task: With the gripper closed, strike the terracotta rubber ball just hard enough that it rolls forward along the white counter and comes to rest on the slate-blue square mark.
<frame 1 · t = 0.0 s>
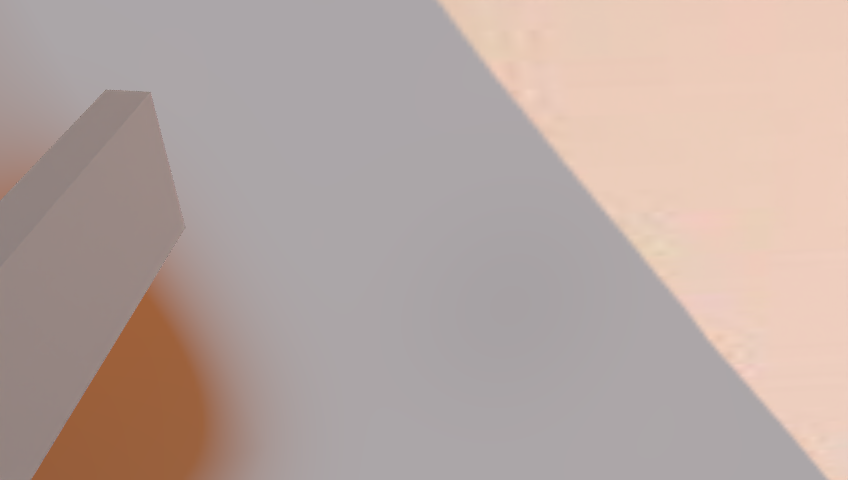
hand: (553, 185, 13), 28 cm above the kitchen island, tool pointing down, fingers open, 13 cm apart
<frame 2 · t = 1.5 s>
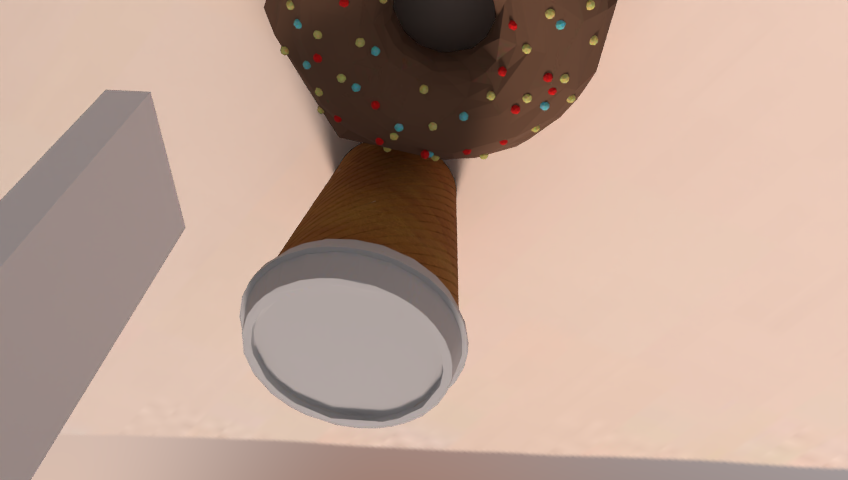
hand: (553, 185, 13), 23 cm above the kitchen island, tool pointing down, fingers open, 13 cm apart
disposable coffee cup: (396, 187, 41), on the kitchen island
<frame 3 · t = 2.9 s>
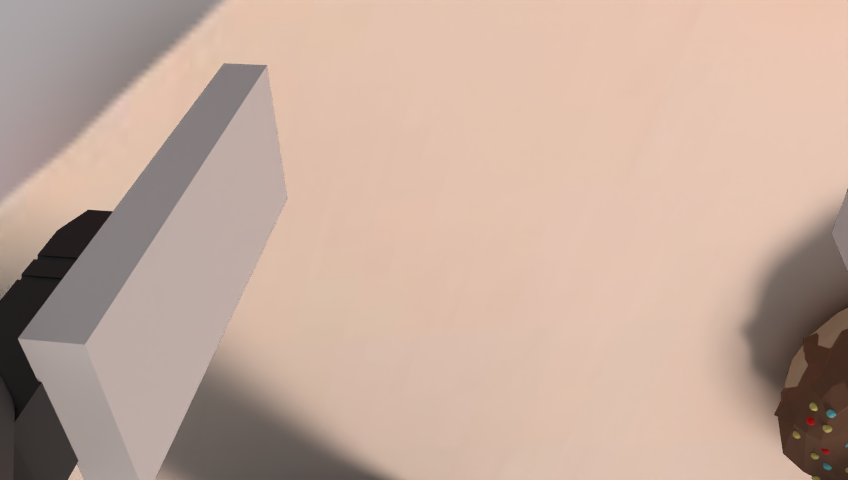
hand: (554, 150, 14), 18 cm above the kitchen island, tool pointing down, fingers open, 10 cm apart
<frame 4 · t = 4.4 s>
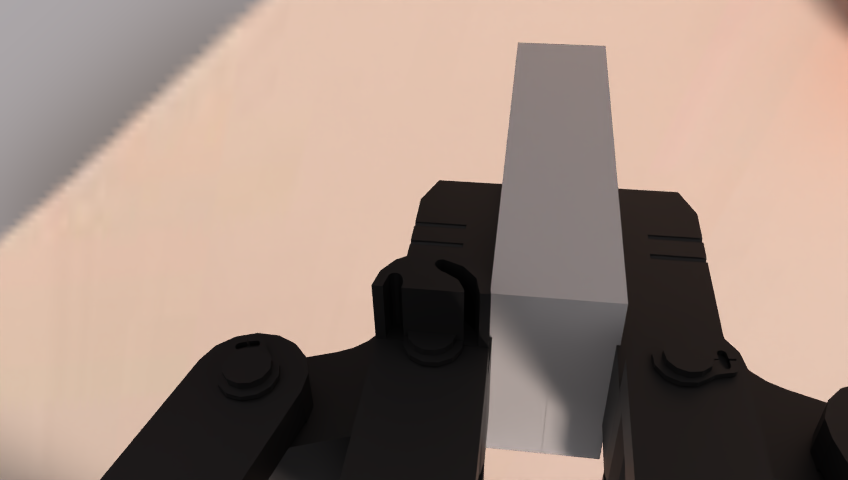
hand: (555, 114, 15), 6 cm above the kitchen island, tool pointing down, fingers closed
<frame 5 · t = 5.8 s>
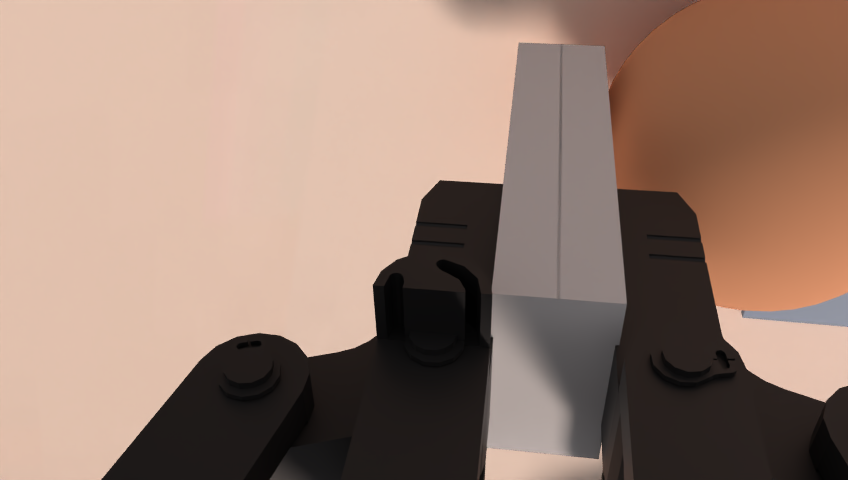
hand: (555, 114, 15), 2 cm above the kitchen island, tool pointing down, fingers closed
ball: (758, 151, 14), on the kitchen island
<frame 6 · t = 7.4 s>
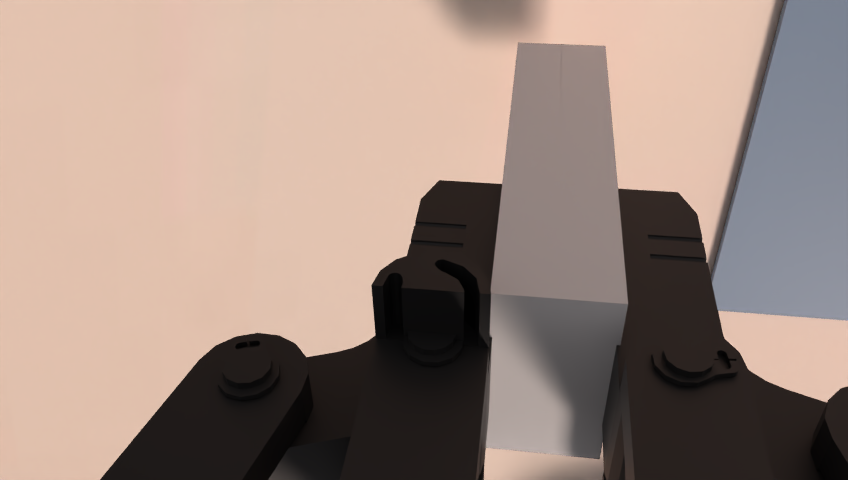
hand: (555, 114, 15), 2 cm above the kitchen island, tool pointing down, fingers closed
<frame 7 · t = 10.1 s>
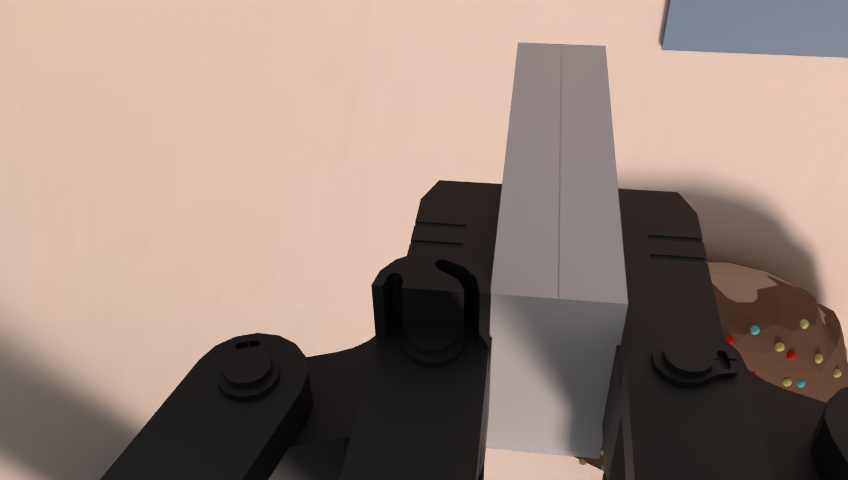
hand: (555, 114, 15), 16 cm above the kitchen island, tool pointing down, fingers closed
donut: (680, 347, 40), on the kitchen island
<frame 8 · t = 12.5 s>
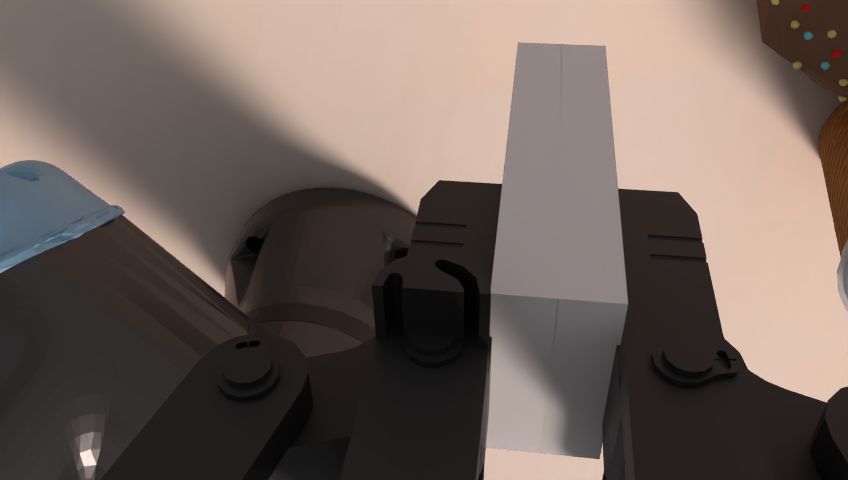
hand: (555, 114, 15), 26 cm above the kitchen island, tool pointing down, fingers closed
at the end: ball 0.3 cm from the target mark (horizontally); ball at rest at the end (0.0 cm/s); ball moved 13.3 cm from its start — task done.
